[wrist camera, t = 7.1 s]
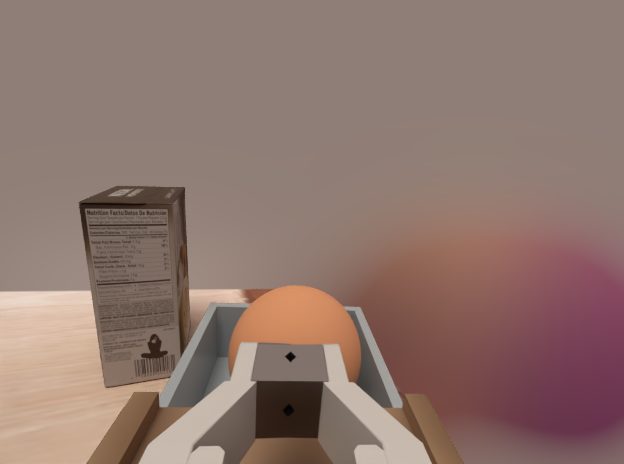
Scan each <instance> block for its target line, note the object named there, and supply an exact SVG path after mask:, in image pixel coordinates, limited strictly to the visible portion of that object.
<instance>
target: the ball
mask: <svg viewBox="0 0 624 464" xmlns="http://www.w3.org/2000/svg"><path fill="white" fill-rule="evenodd" d="M241 342H257V343H258V342H263V343H286V344H339V345H340V349H341V353H342V357H343V361H344V364H345V368H346V372H347V376H348V380H349V382H354V383H355V384H356V383H357V380H358V377H359V372H360V367H361V346H360V339H359V336H358V332H357V329H356V327H355V325H354V322H353V321H352V319H351V317H350V315H349V314H348V312H347V311H346V310H345V308H344V307H343V306H342V305H341V304H340V303H339V302H338V301H337V300H335V299H334V298H333V297H331V296H330V295H328V294H326V293H325V292H323V291H320V290H318V289H315V288H312V287H307V286H285V287H281V288H277V289H274V290H272V291H270V292H268V293H265V294H264V295H262V296H261V297H259V298H258V299H257V300H255V301H254V302H253V303H252V304H251V305H250V306H249V307H248V308H247V309H246V310H245V311H244V313H243V314H242V316H241V317H240V319H239V320H238V322H237V324H236V326H235V328H234V331H233V334H232V337H231V341H230V345H229V352H228V366H229V374H230V378H231V375H232V371H233V367H234V364H235V360H236V356H237V353H238V349H239V345H240V344H241Z"/></svg>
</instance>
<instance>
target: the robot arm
mask: <svg viewBox="0 0 624 464" xmlns="http://www.w3.org/2000/svg"><path fill="white" fill-rule="evenodd" d="M263 438H318V441H319V443H320V444H321V446H322V447H323V449H324V450H325V452H326V454H327V455H328V457H329V458H330V460H331V461H332V463H333V464H432V463H431V461H430V458H429V456H428V454H427V452H426V450H425V447H424V445H423V443H422V442H421V441H420V440H418V439H417V438H416V437H415V436H414V435H413V434H412V433H411V432H409V431H408V430H407V429H406V428H405V427H404V426H403V425H402V424H400V423H399V422H398V421H397V420H396V419H395V418H394V417H392V416H391V415H390V414H389V413H388V412H387V411H386V410H385V409H383V408H382V407H381V406H380V405H379V404H378V403H377V402H376V401H374V400H373V399H372V398H371V397H370V396H369V395H368V394H367V393H365V392H364V391H363V390H362V389H361V388H360V387H359V386H357V385H356V384H355V383H354V382H349V380H348V376H347V372H346V368H345V364H344V361H343V357H342V353H341V349H340V345H339V344H286V343H263V342H258V343H257V342H241V344H240V345H239V349H238V353H237V356H236V360H235V364H234V367H233V371H232V375H231V378H230V381H224V382H223V383H222V384H220V385H219V386H218V387H217V388H216V389H214V390H213V391H212V392H211V393H210V394H208V395H207V396H206V397H205V398H204V399H202V400H201V401H200V402H199V403H198V404H196V405H195V406H194V407H193V408H192V409H190V410H189V411H188V412H187V413H186V414H184V415H183V416H182V417H181V418H180V419H178V420H177V421H176V422H175V423H174V424H172V425H171V426H170V427H169V428H167V429H166V430H165V431H164V432H163V433H161V434H160V435H159V436H158V437H157V438H155V439H154V440H153V441H152V442H151V443H149V444H148V446H147V448H146V450H145V452H144V454H143V456H142V458H141V460H140V462H139V464H239V463H240V462H241V460H242V459H243V457H244V456H245V455H246V453H247V452H248V450H249V449H250V447H251V446H252V445H253V443H254V442H255V439H263Z"/></svg>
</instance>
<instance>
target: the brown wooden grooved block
mask: <svg viewBox="0 0 624 464" xmlns="http://www.w3.org/2000/svg"><path fill="white" fill-rule="evenodd" d="M192 408H193V407H160V405H159V392H134V393H133V395H132V396H131V398H130V399H129V401H128V403H127V404H126V406H125V407H124V408H123V409H122V411H121V412H120V414H119V415H118V417H117V418H116V420H115V421H114V423H113V424H112V426H111V427H110V429H109V430H108V432H107V433H106V435H105V436H104V438H103V440H102V441H101V443H100V444H99V446H98V447H97V449H96V450H95V452H94V453H93V455H92V456H91V458H90V459H89V461H88V462H87V464H139V462H140V460H141V458H142V456H143V454H144V452H145V450H146V448H147V446H148V444H149V443H151V442H152V441H153V440H154V439H155V438H157V437H158V436H159V435H160V434H161V433H163V432H164V431H165V430H166V429H167V428H169V427H170V426H171V425H172V424H174V423H175V422H176V421H177V420H178V419H180V418H181V417H182V416H183V415H184V414H186V413H187V412H188V411H189V410H190V409H192ZM383 409H385V410H386V411H387V412H388V413H389V414H390V415H391V416H392V417H394V418H395V419H396V420H397V421H398V422H399V423H400V424H402V425H403V426H404V427H405V428H406V429H407V430H408V431H409V432H411V433H412V434H413V435H414V436H415V437H416V438H417V439H418V440H420V441H421V442H422V443H423V445H424V447H425V450H426V452H427V454H428V456H429V458H430V461H431V463H432V464H464V463H463V461H462V459H461V458H460V456H459V454H458V452H457V450H456V449H455V447H454V445H453V443H452V441H451V439H450V438H449V436H448V434H447V432H446V430H445V429H444V427H443V425H442V423H441V421H440V419H439V418H438V416H437V414H436V412H435V410H434V409H433V407H432V405H431V403H430V402H429V400H428V398H427V396H426V394H404V400H403V405H402V408H383ZM239 464H333V463H332V461H331V460H330V458H329V457H328V455H327V454H326V452H325V450H324V449H323V447H322V446H321V444H320V443H319V441H318V438H263V439H255V442H254V443H253V445H252V446H251V447H250V449H249V450H248V452H247V453H246V455H245V456H244V457H243V459H242V460H241V462H240V463H239Z"/></svg>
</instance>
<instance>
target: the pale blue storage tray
mask: <svg viewBox="0 0 624 464" xmlns="http://www.w3.org/2000/svg"><path fill="white" fill-rule="evenodd" d="M250 305H251V304H243V303H211V304H210V305H209V307H208V309H207V311H206V313H205V315H204V316H203V318H202V320H201V322H200V324H199V326H198V327H197V329H196V331H195V333H194V335H193V337H192V339H191V340H190V342H189V344H188V346H187V348H186V350H185V351H184V353H183V355H182V357H181V359H180V361H179V362H178V364H177V366H176V368H175V370H174V372H173V374H172V375H171V377H170V379H169V381H168V383H167V385H166V386H165V388H164V390H163V392H162V394H161V396H160V397H159V405H160V407H194V406H195V405H196V404H198V403H199V402H200V401H201V400H202V399H204V398H205V397H206V396H207V395H208V394H210V393H211V392H212V391H213V390H214V389H216V388H217V387H218V386H219V385H220V384H222V383H223V382H224V381H230V374H229V366H228V352H229V345H230V341H231V337H232V334H233V331H234V328H235V326H236V324H237V322H238V320H239V319H240V317H241V316H242V314H243V313H244V311H245V310H246V309H247V308H248V307H249V306H250ZM344 308H345V310H346V311H347V312H348V314H349V315H350V317H351V319H352V321H353V322H354V325H355V327H356V329H357V332H358V336H359V339H360V346H361V367H360V372H359V377H358V380H357V383H356V385H357V386H359V387H360V388H361V389H362V390H363V391H364V392H365V393H367V394H368V395H369V396H370V397H371V398H372V399H373V400H374V401H376V402H377V403H378V404H379V405H380V406H381V407H382V408H402V405H403V403H402V401H401V399H400V396H399V394H398V392H397V389H396V387H395V385H394V383H393V380H392V378H391V376H390V374H389V371H388V369H387V367H386V365H385V362H384V360H383V358H382V356H381V353H380V351H379V349H378V347H377V344H376V342H375V340H374V338H373V335H372V333H371V331H370V328H369V326H368V324H367V322H366V319H365V317H364V315H363V313H362V311H361V308H360V307H344Z"/></svg>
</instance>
